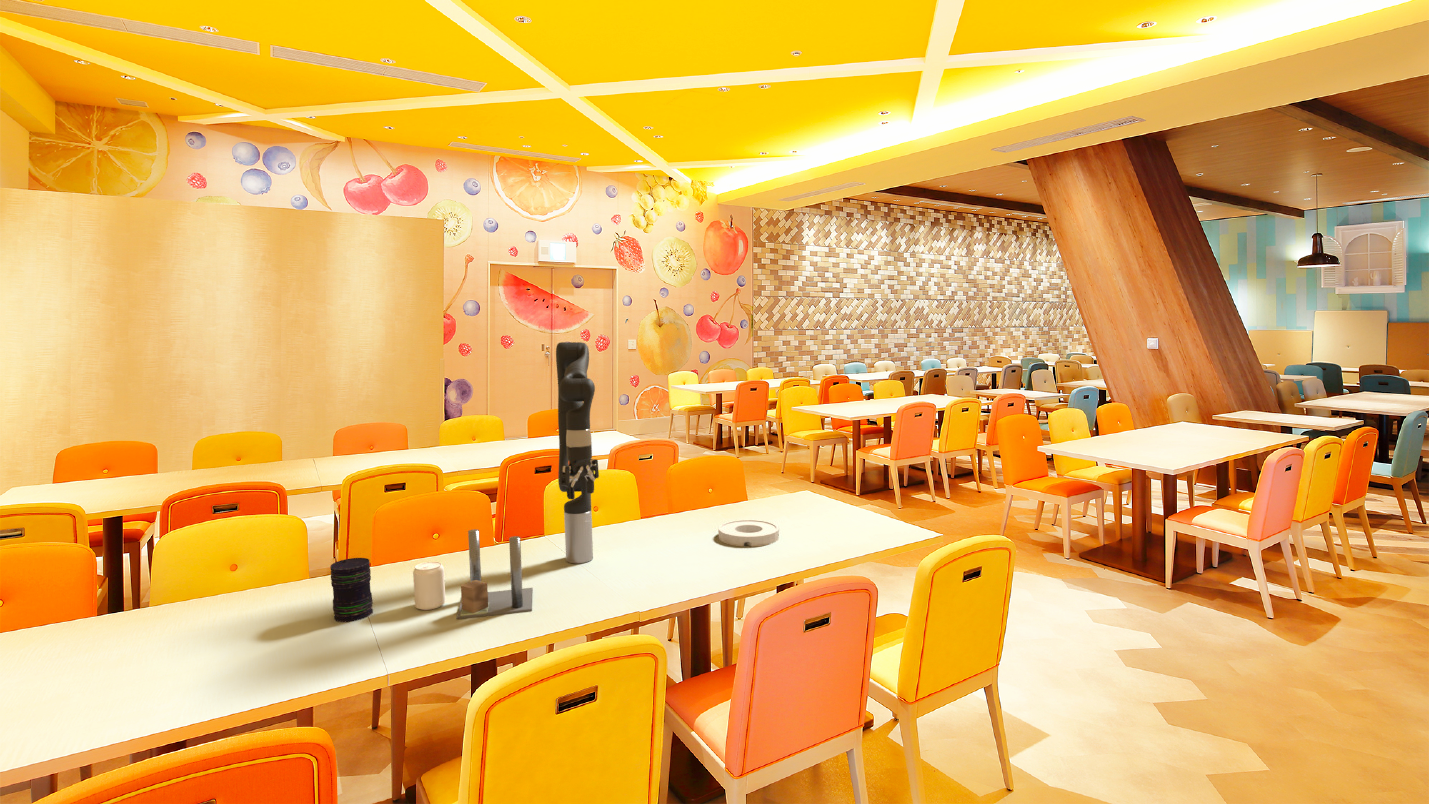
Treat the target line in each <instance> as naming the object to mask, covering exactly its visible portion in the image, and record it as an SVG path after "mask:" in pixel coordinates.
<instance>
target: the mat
mask: <svg viewBox="0 0 1429 804" xmlns="http://www.w3.org/2000/svg"><path fill="white" fill-rule="evenodd" d="M533 590H534V589H533V587H526V588H524V587H522V595H523V607H521V608H512V596H511V589H505V590H495V591H488V608H487V612H486V610H485V612H483V611H482V610H483V609H482V610H481V611H482V612H481V611H479V613H472V612H471V613H470V612H468V611H466V612H468V614H467V613H465V610H464V612H462V600H460V604H459V608H458V611H457V615H456V620H462V619H472V618H480V617H490V616H498V615H506V614H507V615H508V614H516V613H523V612H525V613H526V612H532V611H533ZM485 609H486V608H485ZM461 612H462V613H461ZM463 613H464V614H463Z"/></svg>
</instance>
